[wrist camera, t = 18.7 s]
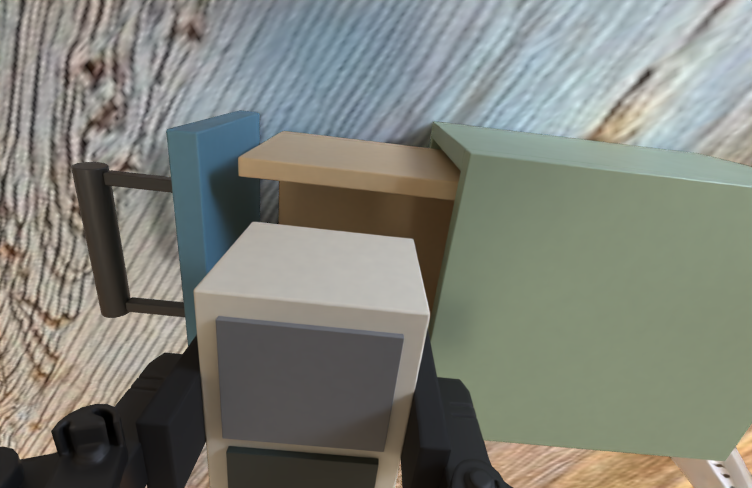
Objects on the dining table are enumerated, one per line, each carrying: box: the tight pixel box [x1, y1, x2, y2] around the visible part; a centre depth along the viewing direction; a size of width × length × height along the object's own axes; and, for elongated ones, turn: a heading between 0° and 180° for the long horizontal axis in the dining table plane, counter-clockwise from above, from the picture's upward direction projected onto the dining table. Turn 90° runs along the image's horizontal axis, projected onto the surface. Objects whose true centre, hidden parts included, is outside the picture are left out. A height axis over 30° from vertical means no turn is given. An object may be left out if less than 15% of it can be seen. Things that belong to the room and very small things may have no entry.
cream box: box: [194, 222, 430, 488], centre depth 13 cm, size 8×6×5 cm
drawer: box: [71, 110, 461, 346], centre depth 21 cm, size 21×13×8 cm, turn 83°
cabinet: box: [428, 121, 752, 461], centre depth 22 cm, size 17×14×10 cm
